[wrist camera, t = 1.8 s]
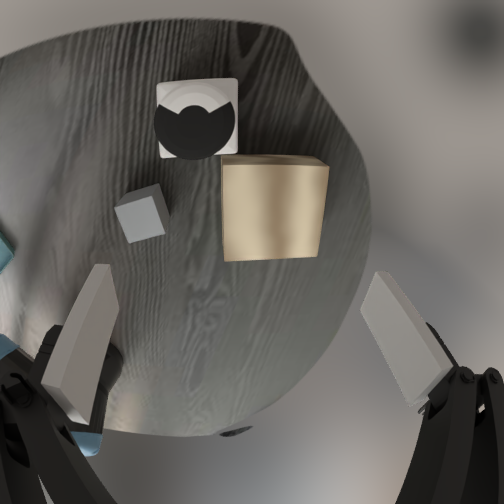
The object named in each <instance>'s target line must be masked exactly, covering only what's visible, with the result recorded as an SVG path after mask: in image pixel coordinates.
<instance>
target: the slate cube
mask: <svg viewBox="0 0 504 504" xmlns="http://www.w3.org/2000/svg"><path fill="white" fill-rule="evenodd" d="M114 209H115V211H116V214H117V216H118V219H119V221H120V224H121V226H122V228H123V231H124V233H125V235H126V238H127V240H128V242H129V243H132V242H136V241H140V240H143V239H147V238H151V237H154V236H158V235H162V234H165V233H166V229H167V226H168V222H169V219H170V215H169V212H168V209H167V206H166V203H165V200H164V197H163V194H162V191H161V188H160V185H159V183H158V184H155V185H151V186H148V187H145V188H142V189H138V190H135V191H132V192H129V193H126V194H125V195H124V196H123V197H122V198H121V200H120V201H119V202H118V203H117V205H116V206H115V207H114Z"/></svg>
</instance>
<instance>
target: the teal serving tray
mask: <svg viewBox="0 0 504 504" xmlns="http://www.w3.org/2000/svg"><path fill="white" fill-rule="evenodd" d="M13 258H14V248H13V247H12V246H11V245H10V243H9V242H8V241H7V239H6V238H5V237H4V235H3V234H2V232H1V231H0V274H1V273H2V271H3V270H4V269H5V268H6V266H7V265H8V264H9V263H10V261H11V260H12V259H13Z"/></svg>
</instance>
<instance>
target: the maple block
mask: <svg viewBox="0 0 504 504" xmlns="http://www.w3.org/2000/svg"><path fill="white" fill-rule="evenodd" d="M328 175H329V166H328V165H326V164H324V163H323V162H321V161H320V160H318V159H317V158H315V157H314V156H300V155H221V196H222V240H223V251H224V261H242V260H262V259H281V258H299V257H317V253H318V247H319V241H320V234H321V228H322V221H323V214H324V207H325V199H326V191H327V183H328Z"/></svg>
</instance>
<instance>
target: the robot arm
mask: <svg viewBox="0 0 504 504" xmlns="http://www.w3.org/2000/svg"><path fill="white" fill-rule="evenodd" d="M119 309H120V308H119V304H118V300H117V296H116V292H115V287H114V283H113V278H112V273H111V268H110V264H95V265H94V267H93V269H92V271H91V272H90V274H89V276H88V278H87V280H86V282H85V284H84V285H83V287H82V289H81V291H80V293H79V295H78V297H77V299H76V301H75V303H74V305H73V307H72V309H71V311H70V313H69V316H68V318H67V320H66V322H65V324H64V326H61V325H54V326H53V327H52V328H51V329H50V330H49V331H48V332H47V333H46V335H45V337H44V339H43V342H42V345H41V346H40V348H39V353H37V355H36V358H35V359H33V358H32V357H31V356H30V355H29V354H27V353H26V352H25V351H24V350H23V349H21V348H20V346H19V345H17V344H15V343H14V342H13V341H11V340H10V339H9V338H8V337H7V336H5V335H4V334H0V504H47V502H46V499H45V496H44V493H43V490H42V487H41V483H40V480H39V477H40V479H41V481H42V483H43V485H44V487H45V489H46V490H47V492H48V494H49V496H50V497H51V499H52V501H53V503H54V504H117V503H116V501H115V500H114V499H113V498H112V496H111V495H110V494H109V492H108V491H107V490H106V488H105V487H104V485H103V484H102V483H101V481H100V480H99V478H98V477H97V475H96V474H95V472H94V471H93V469H92V468H91V466H90V465H89V463H88V462H87V460H86V458H85V457H84V456H93V455H95V454H97V453H98V452H99V449H100V445H101V440H102V438H103V435H102V433H103V426H104V419H105V412H106V406H107V400H108V395H109V392H110V390H111V389H112V387H113V386H114V384H115V383H116V381H117V379H118V378H119V376H120V375H121V372H122V367H123V359H122V356H121V354H120V353H119V351H118V350H117V349H116V348H115V347H114V346H113V345H112V344H111V343H109V341H110V337H111V334H112V331H113V328H114V324H115V321H116V318H117V315H118V312H119ZM360 312H361V314H362V315H363V317H364V319H365V321H366V323H367V325H368V327H369V328H370V330H371V332H372V334H373V336H374V338H375V340H376V342H377V343H378V345H379V347H380V349H381V351H382V353H383V355H384V357H385V359H386V361H387V363H388V365H389V367H390V369H391V371H392V373H393V375H394V377H395V379H396V381H397V383H398V385H399V387H400V389H401V392H402V393H403V396H404V398H405V400H406V402H407V404H408V406H411V405H415V404H417V403H420V402H421V401H422V400H423V399H424V398H425V397H426V396H427V395H428V397H429V399H430V400H428V401H427V402H426V403H425V405H423V407H421V408H420V410H419V411H418V413H419V414H420V413H421V412H422V411H423V410H424V409H425V412H424V413H423V414H422V415H424V416H423V421H422V425H421V429H420V433H419V436H418V440H417V444H416V447H415V451H414V454H413V457H412V460H411V463H410V466H409V469H408V472H407V475H406V478H405V480H404V483H403V486H402V488H401V492H400V494H399V496H398V498H397V501H396V503H395V504H504V383H503V379H502V376H501V375H500V373H499V371H498V370H496V369H494V368H492V367H491V368H488V369H487V370H486V371H485V372H484V373H483V374H474V373H473V372H472V371H471V370H470V369H469V368H467V367H464V366H462V367H459V366H458V364H457V362H456V361H455V359H454V357H453V356H452V354H451V353H450V351H449V350H448V348H447V347H446V345H444V342H443V341H442V339H441V338H440V336H439V335H438V333H437V332H436V330H435V329H434V328H433V327H432V326H431V325H430V324H428V323H427V322H426V323H425V322H424V320H423V319H422V318H421V316H420V315H419V313H418V312H417V311H416V309H415V308H414V306H413V305H412V303H411V302H410V301H409V299H408V298H407V297H406V295H405V294H404V293H403V291H402V290H401V289H400V287H399V286H398V285H397V284H396V282H395V281H394V279H393V278H392V277H391V276H390V275H389V273H388V272H387V271H376V273H375V275H374V278H373V280H372V283H371V285H370V287H369V290H368V292H367V295H366V297H365V300H364V302H363V304H362V306H361V308H360ZM483 404H484V407H485V409H484V410H483V411H482V412H481V413H479V408H480V407H481V406H482V405H483ZM38 475H39V477H38Z"/></svg>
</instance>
